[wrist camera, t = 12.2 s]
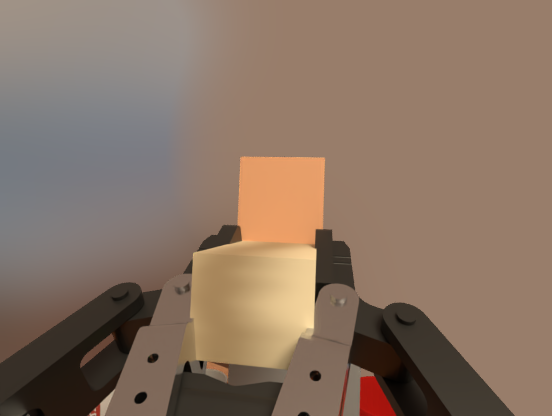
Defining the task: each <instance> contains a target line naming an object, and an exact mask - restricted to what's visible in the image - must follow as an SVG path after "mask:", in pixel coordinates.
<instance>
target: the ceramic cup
mask: <svg viewBox="0 0 552 416" xmlns="http://www.w3.org/2000/svg"><path fill="white" fill-rule="evenodd" d="M359 416H396V414H395V412H394V410H393V409H392V407H391V405H390V403H389V401H388V400H387V398H386V396H385V394H384V393H383V391H382V389H381V387H380V385H379V384H378V382H377V380H376V378H375V377H374V376H366V377H360V411H359Z"/></svg>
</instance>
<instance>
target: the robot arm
mask: <svg viewBox="0 0 552 416" xmlns="http://www.w3.org/2000/svg"><path fill="white" fill-rule="evenodd" d="M240 241H242V235H241V228H240V226H237V225H223V226H222V228H221V230H220V231H219V233H218V235H211V236H210V237H208V238H207V239H206V240H204V241H203V243H202V244H201V246H200V248H199V250H198V251H197V252H199V251H203V250H207V249H211V248H215V247H219V246H223V245H227V244H232V243H236V242H240ZM315 249H316V277H315V306H314V328H307V330H306V332H305V333H304V332H302V333H301V335H300V337H299V340H298V342H297V345H296V348H295V351H294V354H293V356H292V359H291V362H290V365H289V368H288V370H287V373H286V376H285V379H284V382H283V383H279V382H270V381H268V382H261V383H254V384H247V385H240V386H232V385H230V384H227V383H225V382H222V381H220V380H218V379H215V378H213V377H210V376H208V375H206V374H205V373H206V366H207V361H200V360H196V348H195V330H194V318H190V308H191V288H192V267H193V259H192V260H191V262H190V264H189V265H188V267H187V269H186V270H185V272H184V273H183V274H181V275H178V276H175V277H173V278H171V279H170V280H168V281H167V282H166V284H165V285H164V287H163V289H161V290H156V291H150V292H143V293H142V291H141V288H140V286H139V285H138V284H136V283H122V284H118V285H116V286H114V287H112V288H110V289H108V290H107V291H105V292H104V293H103V294H101V295H100V296H98V297H97V298H95V299H94V300H92V301H91V302H89V303H88V304H87V305H85V306H84V307H82V308H81V309H79V310H78V311H76V312H75V313H73V314H72V315H70V316H69V317H67V318H66V319H65V320H63V321H62V322H60V323H59V324H57V325H56V326H54V327H53V328H51V329H50V330H48V331H47V332H46V333H44V334H43V335H41V336H40V337H38V338H37V339H35V340H34V341H32V342H31V343H29V345H27V346H25V347H24V348H22V349H21V350H19V351H18V352H16V353H15V354H13V355H12V356H11V357H9V358H8V359H6V360H5V361H3V362H2V363H0V416H88V415H89V414H90V413H91V412H92V411H93V410H94V409H95V408H96V407H97V406H98V405H99V404H100V403H101V402H102V401H103V400H104V399H105V398H106V397H107V396H108V395H109V394H110V393H111V392H112V391H114V390H115V391H114V393H113V396H112V398H111V401H110V403H109V406H108V408H107V411H106V413H105V416H343V411H344V404H345V398H346V392H347V386H348V379H349V373H350V367H351V364H353V365H356V366H358V367H360V368H363V369H365V370H368V371H370V372H373V373H374V376H375V378H376V380H377V382H378V384H379V385H380V387H381V389H382V391H383V393H384V394H385V396H386V398H387V400H388V401H389V403H390V405H391V407H392V409H393V410H394V412H395V414H396V416H514V414H513V413H512V412H511V411H510V410H509V409H508V408H507V407H506V405H505V404H504V403H503V402H502V401H501V400H500V399H499V397H498V396H497V395H496V394H495V393H494V392H493V391H492V390H491V388H490V387H489V386H488V385H487V384H486V383H485V382H484V380H483V379H482V378H481V377H480V376H479V375H478V374H477V373H476V372H475V370H474V369H473V368H472V367H471V366H470V365H469V364H468V362H467V361H466V360H465V359H464V358H463V357H462V356H461V354H460V353H459V352H458V351H457V350H456V349H455V348H454V347H453V345H452V344H451V343H450V342H449V341H448V340H447V339H446V338H445V336H444V335H443V334H442V333H441V332H440V331H439V330H438V328H437V327H436V326H435V325H434V324H433V323H432V322H431V321H430V319H429V318H428V317H427V316H426V315H425V314H424V313H423V312H422V311H421V310H420V309H418V308H416V307H414V306H412V305H410V304H405V303H392V304H390V305H388V306H387V307H386V308H385V309H380V308H377V307H374V306H372V305H369V304H367V303H365V302H364V301H363V300H362V299H360V298H359V296H358V294H357V293H356V291H355V287H354V279H353V272H352V265H351V256H350V249H349V247H348V246H347V245H346V244H345V242H344V241H332V230H327V229H316V232H315ZM111 333H112V335H113V337H114V341H113V342H111V343H110V344H109V345H108V346H107V347H106V348H105V349H103V350H102V351H101V352H99V353H98V354H97V355H96V356H95V357H94V358H92V359H91V360H90V361H89V362H88V363H86V364H85V365H84V366H83V367H82V368H80V363H81V360H82V359H83V357H84V356H85V355H86V354H87V352H89V351H90V350H91V349H93V348H94V347H95V346H96V345H97V344H99V343H100V342H101V341H102V340H103V339H105V338H106V337H107V336H109V335H110V334H111Z"/></svg>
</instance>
